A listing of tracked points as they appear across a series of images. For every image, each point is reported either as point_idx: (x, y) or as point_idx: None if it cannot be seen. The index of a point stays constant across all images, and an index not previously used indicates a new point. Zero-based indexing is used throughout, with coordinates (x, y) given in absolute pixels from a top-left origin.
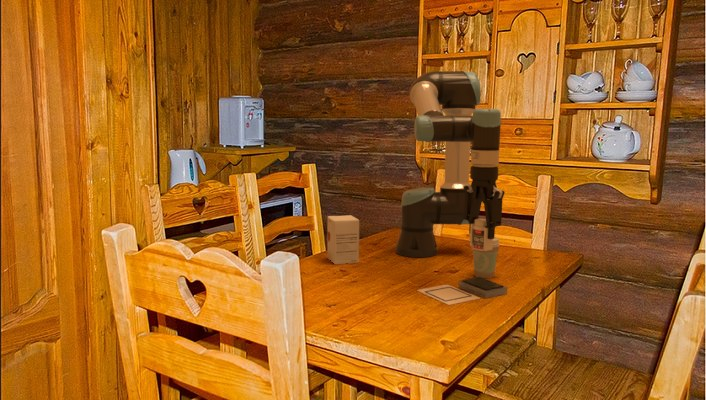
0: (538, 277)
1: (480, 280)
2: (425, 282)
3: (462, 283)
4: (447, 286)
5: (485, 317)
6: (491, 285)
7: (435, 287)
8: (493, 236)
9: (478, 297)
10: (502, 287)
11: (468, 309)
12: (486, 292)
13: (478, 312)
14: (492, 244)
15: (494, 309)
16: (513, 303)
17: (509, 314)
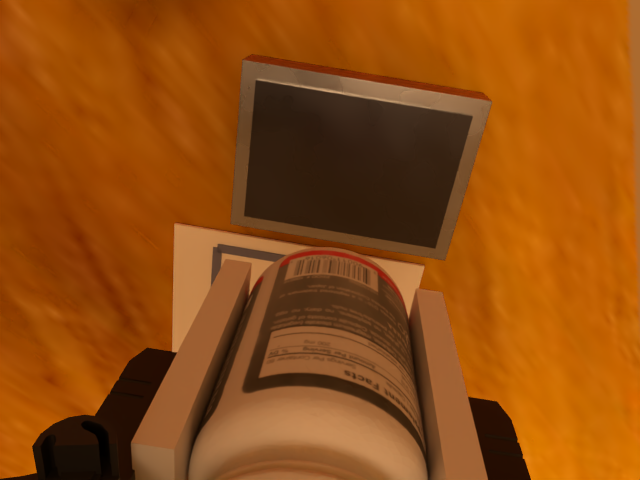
0: None
1: (310, 140)
2: (87, 266)
3: (260, 225)
4: (202, 248)
5: (568, 412)
6: (417, 170)
7: (184, 299)
8: (507, 438)
9: (414, 265)
10: (475, 132)
11: (468, 392)
12: (445, 251)
13: (518, 392)
14: (449, 326)
15: (552, 326)
16: (588, 199)
17: (636, 329)
